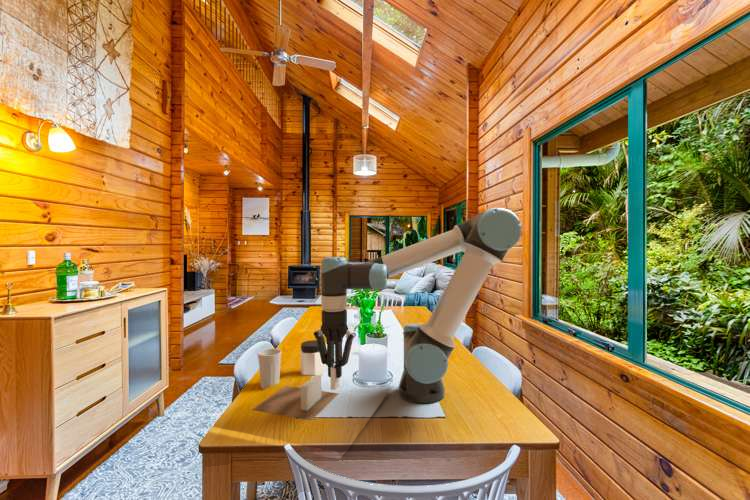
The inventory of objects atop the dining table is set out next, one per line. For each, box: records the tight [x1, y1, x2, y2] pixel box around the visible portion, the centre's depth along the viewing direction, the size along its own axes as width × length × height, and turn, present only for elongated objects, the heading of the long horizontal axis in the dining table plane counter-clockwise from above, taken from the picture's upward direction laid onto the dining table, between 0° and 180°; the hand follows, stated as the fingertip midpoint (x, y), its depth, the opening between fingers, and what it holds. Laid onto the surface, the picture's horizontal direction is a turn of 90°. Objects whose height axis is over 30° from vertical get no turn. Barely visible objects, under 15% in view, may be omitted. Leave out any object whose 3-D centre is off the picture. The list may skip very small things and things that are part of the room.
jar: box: [300, 339, 325, 377], centre depth 135 cm, size 9×8×12 cm
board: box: [251, 385, 339, 421], centre depth 110 cm, size 20×18×1 cm
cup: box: [257, 348, 282, 390], centre depth 124 cm, size 8×8×12 cm
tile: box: [300, 375, 322, 411], centre depth 108 cm, size 2×9×7 cm, turn 161°
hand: (334, 387), depth 105 cm, fingers closed
